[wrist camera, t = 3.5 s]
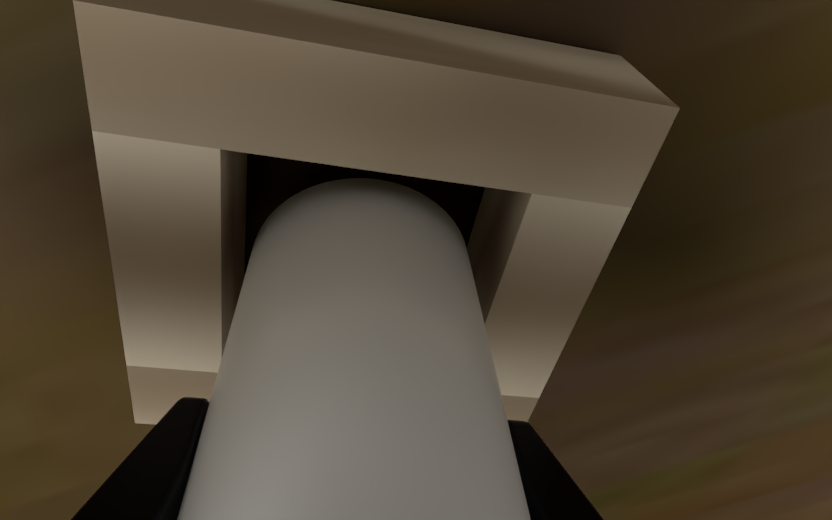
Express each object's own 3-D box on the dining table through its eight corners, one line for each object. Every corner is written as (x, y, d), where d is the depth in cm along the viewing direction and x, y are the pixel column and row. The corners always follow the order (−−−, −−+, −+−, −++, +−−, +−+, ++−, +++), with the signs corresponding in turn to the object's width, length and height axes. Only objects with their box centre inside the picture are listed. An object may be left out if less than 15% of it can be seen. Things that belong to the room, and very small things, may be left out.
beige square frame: (495, 366, 18) (515, 447, 16) (168, 338, 17) (135, 422, 14) (620, 55, 13) (680, 107, 10) (138, -37, 11) (72, 0, 8)
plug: (448, 363, 15) (544, 1000, 7) (239, 345, 14) (61, 1054, 6) (505, 188, 12) (808, 970, 4) (243, 150, 11) (-117, 1068, 3)
